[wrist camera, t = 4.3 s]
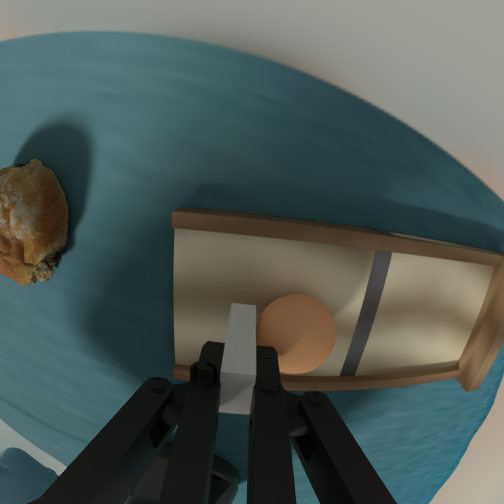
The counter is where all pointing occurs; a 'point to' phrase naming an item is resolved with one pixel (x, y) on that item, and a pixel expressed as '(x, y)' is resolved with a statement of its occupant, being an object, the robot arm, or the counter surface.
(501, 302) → the lane
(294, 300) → the ball
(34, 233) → the bread roll
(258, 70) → the counter surface
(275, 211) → the counter surface
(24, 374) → the counter surface
